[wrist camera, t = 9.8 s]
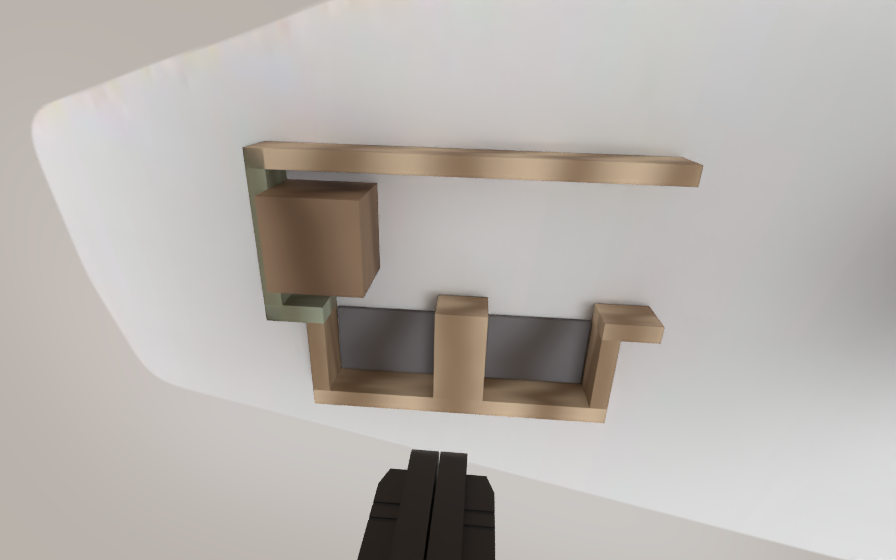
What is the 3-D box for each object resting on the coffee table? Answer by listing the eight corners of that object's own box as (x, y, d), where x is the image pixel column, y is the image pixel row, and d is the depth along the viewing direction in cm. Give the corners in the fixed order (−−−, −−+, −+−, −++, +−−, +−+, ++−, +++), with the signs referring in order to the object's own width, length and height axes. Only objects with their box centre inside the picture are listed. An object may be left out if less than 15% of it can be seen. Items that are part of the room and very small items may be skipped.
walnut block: (377, 182, 31) (358, 200, 26) (380, 267, 33) (363, 297, 29) (288, 178, 31) (254, 196, 26) (297, 263, 33) (267, 292, 29)
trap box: (682, 157, 29) (703, 165, 26) (628, 399, 36) (640, 425, 33) (264, 141, 30) (242, 147, 27) (293, 376, 37) (278, 400, 34)
